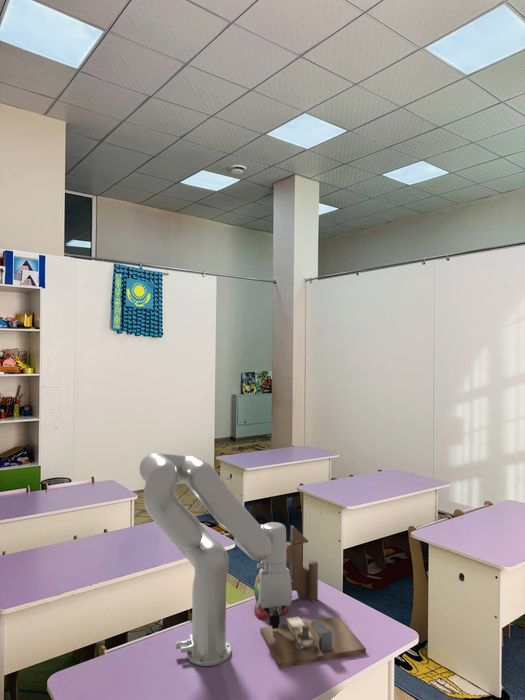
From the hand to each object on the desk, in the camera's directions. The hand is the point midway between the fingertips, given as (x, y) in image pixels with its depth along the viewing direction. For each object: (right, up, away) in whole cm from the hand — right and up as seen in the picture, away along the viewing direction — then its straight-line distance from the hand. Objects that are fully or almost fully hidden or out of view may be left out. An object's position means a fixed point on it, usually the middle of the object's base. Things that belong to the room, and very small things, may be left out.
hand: (274, 626), depth 149 cm
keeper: (+13, -1, -7) cm, 15 cm away
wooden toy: (+8, -4, +23) cm, 24 cm away
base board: (+11, -3, -4) cm, 12 cm away
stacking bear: (-2, -3, +16) cm, 16 cm away
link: (+8, -1, -3) cm, 8 cm away
